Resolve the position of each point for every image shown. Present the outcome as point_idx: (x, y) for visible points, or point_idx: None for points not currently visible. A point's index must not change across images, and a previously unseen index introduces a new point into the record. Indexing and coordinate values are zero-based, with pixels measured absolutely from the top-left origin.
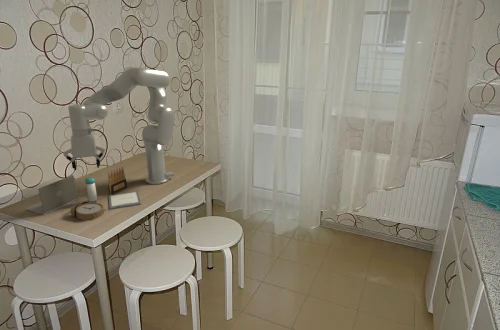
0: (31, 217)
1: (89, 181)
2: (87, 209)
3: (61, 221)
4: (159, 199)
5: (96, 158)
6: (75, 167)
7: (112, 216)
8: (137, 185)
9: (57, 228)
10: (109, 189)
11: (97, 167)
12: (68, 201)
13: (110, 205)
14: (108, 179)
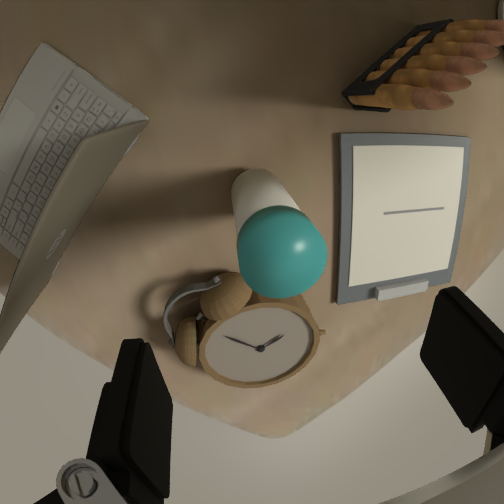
0: None
1: (281, 292)
2: (249, 351)
3: None
4: (500, 251)
5: (489, 429)
6: (168, 432)
7: (338, 354)
8: None
9: None
10: (357, 91)
11: (423, 356)
12: (108, 175)
13: (344, 274)
14: (400, 99)
